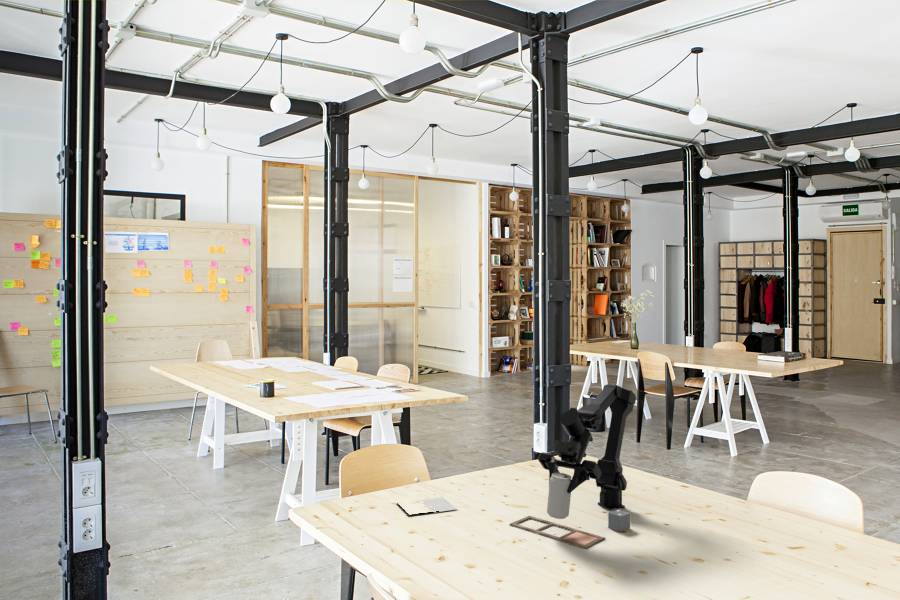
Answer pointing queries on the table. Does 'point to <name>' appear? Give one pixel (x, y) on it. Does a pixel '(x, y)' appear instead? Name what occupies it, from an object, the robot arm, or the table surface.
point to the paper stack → (438, 504)
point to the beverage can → (559, 496)
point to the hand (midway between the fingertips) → (559, 490)
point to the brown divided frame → (573, 537)
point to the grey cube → (619, 520)
